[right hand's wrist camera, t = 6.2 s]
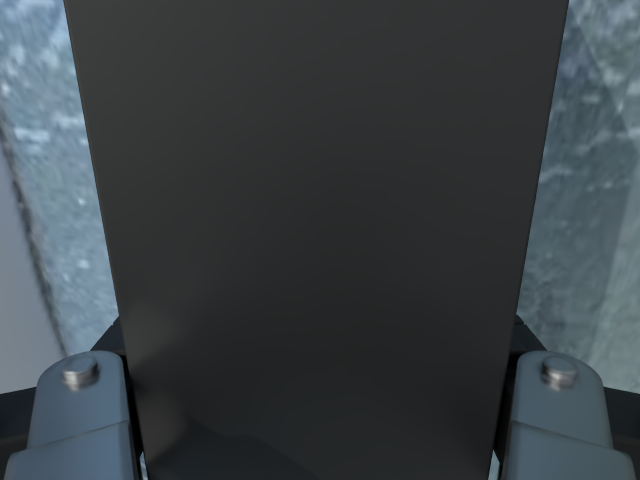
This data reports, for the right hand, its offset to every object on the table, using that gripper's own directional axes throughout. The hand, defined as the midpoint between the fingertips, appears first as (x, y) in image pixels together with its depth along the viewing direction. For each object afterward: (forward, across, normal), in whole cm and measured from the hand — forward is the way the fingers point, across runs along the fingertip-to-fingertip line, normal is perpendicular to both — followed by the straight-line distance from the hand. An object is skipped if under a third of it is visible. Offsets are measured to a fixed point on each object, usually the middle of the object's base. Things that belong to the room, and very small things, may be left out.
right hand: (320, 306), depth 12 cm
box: (+7, 0, +8) cm, 11 cm away
